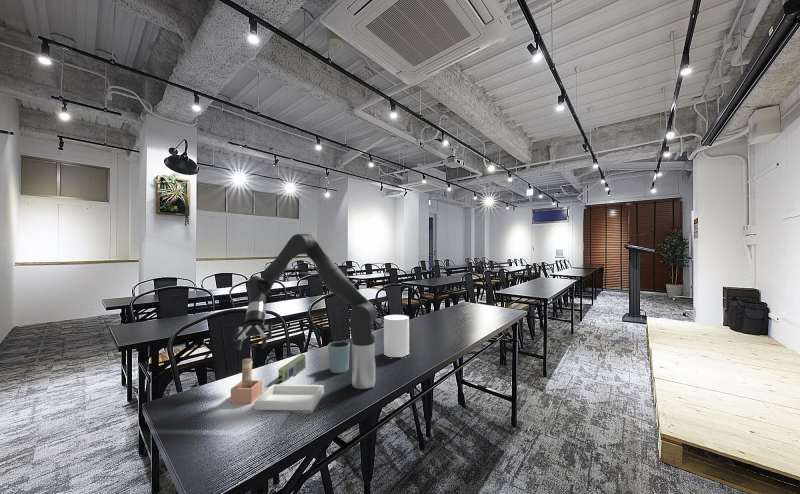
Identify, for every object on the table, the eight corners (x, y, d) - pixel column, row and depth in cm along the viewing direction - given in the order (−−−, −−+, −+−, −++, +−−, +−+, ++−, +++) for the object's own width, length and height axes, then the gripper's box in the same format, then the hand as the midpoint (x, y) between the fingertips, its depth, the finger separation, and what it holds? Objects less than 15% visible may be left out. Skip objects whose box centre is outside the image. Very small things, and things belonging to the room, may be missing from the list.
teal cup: (343, 375, 135) (343, 348, 135) (323, 372, 138) (323, 345, 138) (353, 366, 144) (353, 341, 145) (335, 364, 148) (335, 339, 148)
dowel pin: (253, 396, 113) (253, 358, 113) (248, 400, 110) (249, 361, 110) (244, 395, 113) (245, 358, 113) (240, 400, 110) (240, 361, 110)
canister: (382, 358, 156) (382, 319, 156) (385, 350, 169) (385, 314, 170) (409, 358, 155) (408, 319, 156) (409, 350, 169) (409, 314, 169)
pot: (261, 396, 115) (262, 380, 115) (251, 406, 107) (251, 389, 108) (242, 395, 115) (242, 380, 115) (230, 405, 108) (230, 388, 108)
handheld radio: (307, 368, 144) (276, 391, 119) (300, 368, 145) (269, 391, 120) (306, 354, 144) (276, 374, 120) (300, 353, 145) (268, 374, 120)
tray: (323, 394, 116) (323, 385, 116) (312, 413, 102) (312, 402, 102) (272, 393, 117) (272, 384, 117) (254, 412, 103) (254, 402, 103)
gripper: (236, 310, 127) (229, 345, 116) (272, 308, 132) (269, 342, 120) (238, 320, 132) (232, 355, 121) (273, 318, 136) (271, 351, 125)
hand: (251, 348), depth 121 cm, fingers open, 8 cm apart
